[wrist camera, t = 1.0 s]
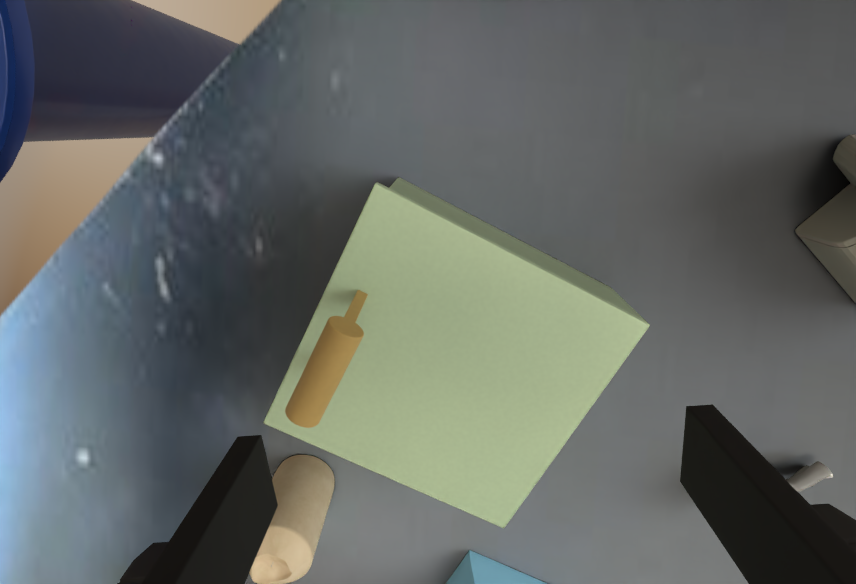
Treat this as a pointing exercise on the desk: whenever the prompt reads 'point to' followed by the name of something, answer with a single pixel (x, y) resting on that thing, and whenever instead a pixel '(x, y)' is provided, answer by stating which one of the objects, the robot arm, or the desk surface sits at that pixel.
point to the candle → (294, 520)
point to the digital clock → (837, 224)
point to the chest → (509, 243)
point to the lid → (448, 360)
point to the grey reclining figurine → (809, 476)
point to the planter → (487, 572)
